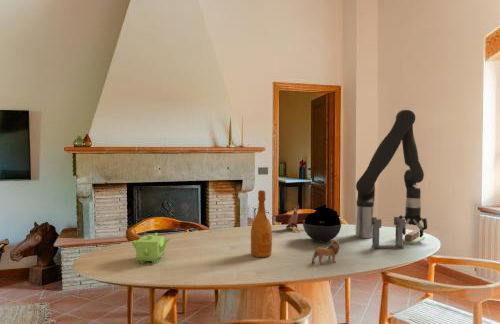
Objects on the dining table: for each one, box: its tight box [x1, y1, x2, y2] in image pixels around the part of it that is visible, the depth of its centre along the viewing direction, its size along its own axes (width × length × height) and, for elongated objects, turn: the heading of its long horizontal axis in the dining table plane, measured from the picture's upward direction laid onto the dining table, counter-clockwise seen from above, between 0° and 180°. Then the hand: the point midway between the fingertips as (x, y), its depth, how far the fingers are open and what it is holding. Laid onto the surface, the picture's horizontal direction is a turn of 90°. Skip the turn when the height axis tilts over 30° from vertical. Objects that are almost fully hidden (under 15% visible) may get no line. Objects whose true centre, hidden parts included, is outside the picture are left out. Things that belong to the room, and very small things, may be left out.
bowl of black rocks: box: [302, 204, 342, 243], centre depth 197 cm, size 20×20×19 cm
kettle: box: [130, 232, 173, 264], centre depth 162 cm, size 15×14×11 cm
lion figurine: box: [311, 239, 340, 265], centre depth 161 cm, size 15×5×9 cm, turn 119°
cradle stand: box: [371, 216, 406, 250], centre depth 184 cm, size 15×6×15 cm, turn 95°
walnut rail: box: [404, 230, 420, 242], centre depth 201 cm, size 15×3×3 cm, turn 140°
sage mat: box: [402, 236, 425, 245], centre depth 201 cm, size 17×8×1 cm, turn 140°
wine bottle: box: [250, 189, 273, 258], centre depth 171 cm, size 10×10×30 cm
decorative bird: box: [271, 203, 312, 233], centre depth 221 cm, size 28×18×15 cm, turn 111°
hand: (412, 235), depth 201 cm, fingers open, 8 cm apart
